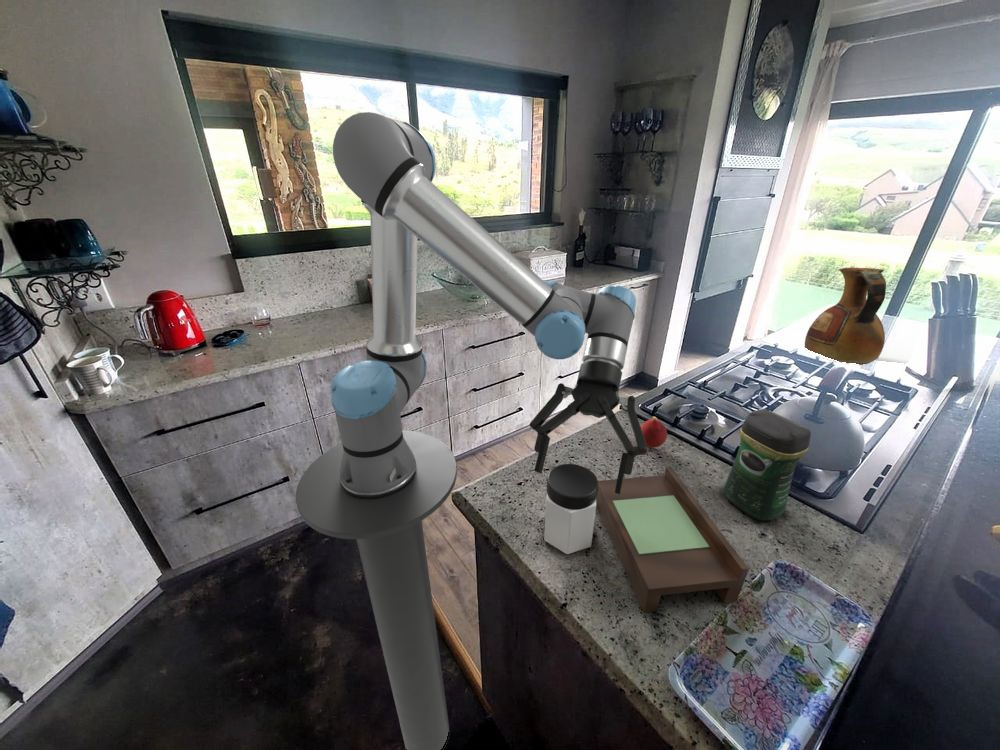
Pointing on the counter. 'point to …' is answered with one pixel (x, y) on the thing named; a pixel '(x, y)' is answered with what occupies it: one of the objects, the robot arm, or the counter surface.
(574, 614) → the counter surface
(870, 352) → the ceramic pitcher
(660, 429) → the onion
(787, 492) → the coffee jar
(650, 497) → the shelf
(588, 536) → the jar
